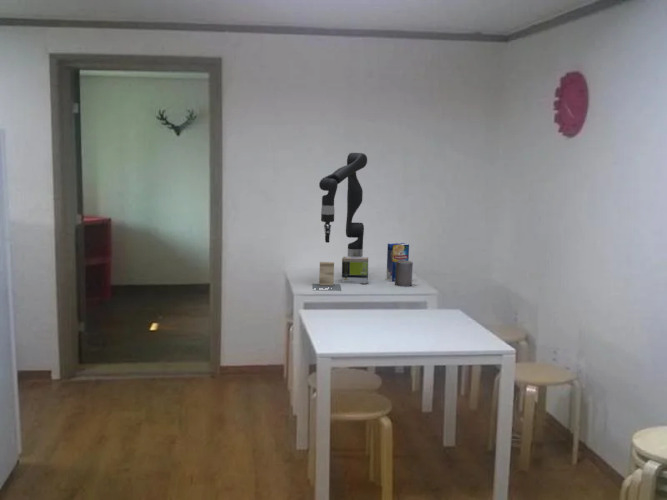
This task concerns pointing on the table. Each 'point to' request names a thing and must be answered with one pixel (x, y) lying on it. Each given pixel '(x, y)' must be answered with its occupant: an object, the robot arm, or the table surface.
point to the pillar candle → (403, 273)
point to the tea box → (355, 270)
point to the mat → (334, 288)
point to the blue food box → (395, 258)
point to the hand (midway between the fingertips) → (327, 241)
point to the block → (326, 274)
